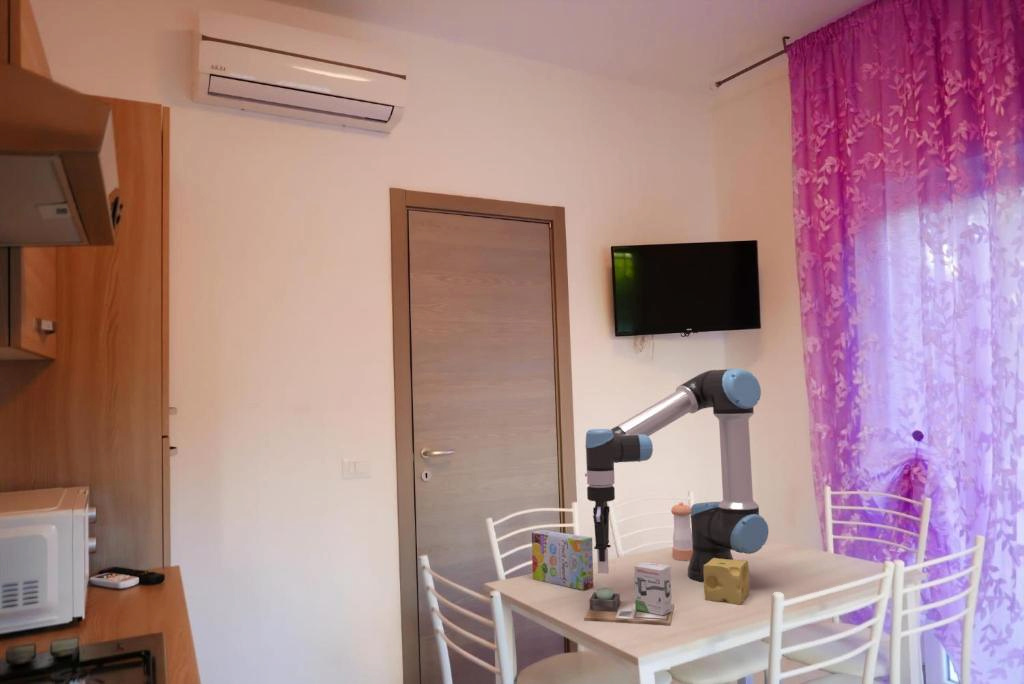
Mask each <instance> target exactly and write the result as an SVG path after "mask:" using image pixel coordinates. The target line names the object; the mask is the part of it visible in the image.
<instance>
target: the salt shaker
mask: <svg viewBox="0 0 1024 684" xmlns="http://www.w3.org/2000/svg"><path fill="white" fill-rule="evenodd" d="M670 513H672V515H673V532H672V533H673V535H672V542H673V543H672V545H673V546H672V559H673V558H674V560H675V559H676V561H681V560H689V561H690V559H691V555H692V551H693V547H692V527H691V517H690V516H691V507H690V506H689V505H687V504H684V503H683V502H679V503H678V504H675V505H673V506H672V507H671V511H670Z"/></svg>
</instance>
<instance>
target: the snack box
mask: <svg viewBox="0 0 1024 684" xmlns="http://www.w3.org/2000/svg"><path fill="white" fill-rule="evenodd" d="M531 552H532V553H531V554H532V555H531V556H532V557H531V558H532V559H531V560H532V565H531V566H532V580H535V579H536V581H540V580H541V581H540V582H544V581H546V583H549V582H550V584H553V583H554V584H555V585H559V586H564V587H567V588H572V589H577V590H581V591H584V590H589V589H591V588H594V564H593V563H594V562H593V561H594V559H593V556H594V554H593V537H591V536H584V535H580V534H579V535H578V534H571V533H565V532H557V531H552V530H547V529H546V530H545V529H541V530H535V531H532V532H531Z"/></svg>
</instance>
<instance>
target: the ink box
mask: <svg viewBox="0 0 1024 684" xmlns="http://www.w3.org/2000/svg"><path fill="white" fill-rule="evenodd" d="M671 580H672V579H671V566H669V565H665V564H659V563H653V562H648V561H643V562H640V563H638V564H636V565H634V593H635V594H634V597H635V598H634V600H635V601H634V602H635V606H636V610H639V611H644V612H649V613H654V614H659V615H665V614H667V613H669V612H671V604H672V585H671V583H672V582H671Z"/></svg>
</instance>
